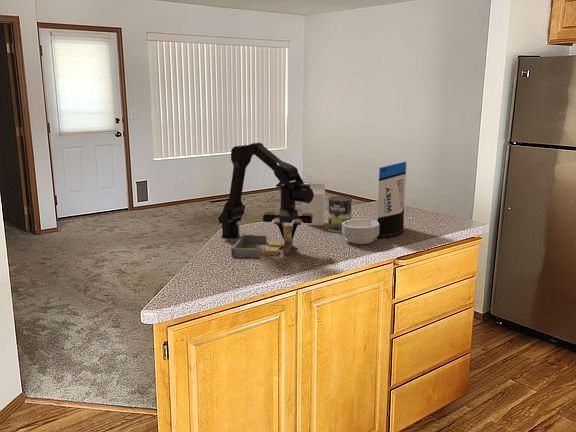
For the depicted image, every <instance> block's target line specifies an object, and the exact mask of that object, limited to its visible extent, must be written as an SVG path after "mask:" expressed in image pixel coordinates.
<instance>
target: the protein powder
mask: <svg viewBox="0 0 576 432" xmlns="http://www.w3.org/2000/svg"><path fill="white" fill-rule="evenodd" d="M378 169H379V170H378V171H379V172H378V193H377V194H378V198H377V199H378V200H377V201H378V202H377V222H378V223H379V235H378V236H377V237H376V240H382V239H383V240H384V239H392V238H397V237H399V236H402V235H403V234H404V232H405V219H404V217H405V216H404V215H405V212H404V211H405V195H406V177H407V176H406V175H407V174H406V173H407V161H403V162H399V163H395V164H390V165H386V166H383V167H382V166H381V167H379V168H378Z"/></svg>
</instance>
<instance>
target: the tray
mask: <svg viewBox="0 0 576 432" xmlns="http://www.w3.org/2000/svg"><path fill="white" fill-rule="evenodd" d="M267 237H268V236H267V235H266V234H264V235H261V234H242V235H241V236H240V237H239V238H238V240H237V241H236V242H235V244H234V245H233V246H232V247H231V249H230V250H231V257H232V258H234V257H239V258H259V249H258V248H242V247H243V245H244V244H245V243H248V244H249V243H251V244H253V243H254V244H267V243H268V241H267V240H268V239H267Z"/></svg>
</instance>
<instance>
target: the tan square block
mask: <svg viewBox="0 0 576 432" xmlns="http://www.w3.org/2000/svg"><path fill="white" fill-rule="evenodd" d="M268 247H279V250H280V249H281V248H282V247H283V244H282V241H273V240H271V241H270V242H269V244H268Z"/></svg>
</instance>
